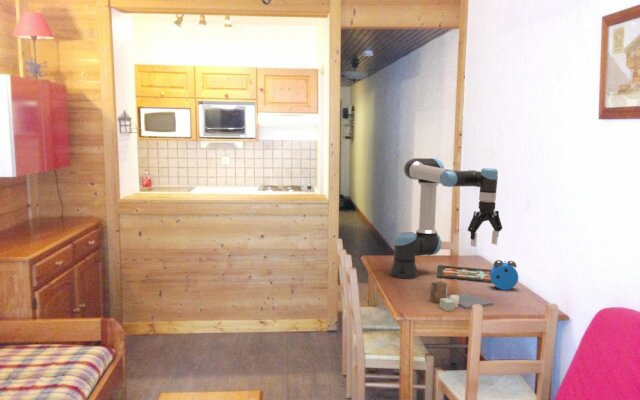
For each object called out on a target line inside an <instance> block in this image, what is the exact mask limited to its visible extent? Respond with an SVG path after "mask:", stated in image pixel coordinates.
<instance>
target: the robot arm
mask: <svg viewBox="0 0 640 400" xmlns="http://www.w3.org/2000/svg"><path fill="white" fill-rule="evenodd" d="M480 170H481V171H477V170H471V169H470V170H452V169H446V168H445V166H444V164H443V162H442V160H440V159H438V158H432V157H431V158H421V157H420V158H418V157H417V158H411V159H409V160H407V162H406V163H405V164H404V166H403V172H404V174H405V176H406V177H407V178H408V179H411V180H417V182H418V184H419V186H420V199H419V202H420V203H419V218H418V219H419V222H418V224H419V225H418V228H417V230H416V231H415V232H416V233H415V232H411V231H410V232H407V231H405V232H400V233H398V234H396V235H395V237H394V242H393V243H394V248H393V249H394V250H393V262H392V264H391V267H390V270H389V275H390V276H391V277H393V278H394V277H395V278H399V279H407V280H409V279H416V278H417V277H418V274H419V273H418V269H417V265H416V257H422V256H433V255H436V254H437V253H439V252H440V251H441V247H442V239H441V236H440V235H439V234H438V231H437V230H436V209H437V208H436V207H437V205H436V203H437V188H438V187H437V186H438V185H439V184H441V186H443V187H448V188H451V187H454V188H455V187H477V188H479V197H478V200H479V201H478V209H479V211H475V210H474V211H473V216H472V217H471V218H472V219H471V220H470V222H469V225H468V226H467V227H468V228H467V231H468V232H469V233H470V237H469V238H470V246H471V247H473V248H475V247H477V241H478V239H477V237H478V236H477V235H478V233H477V231H478V229H479V228H480V226H481V225H482V224H483V223H484V222H487V221H488V222H489V224H490V225H491V226H492V228H493V230H492V232H491V233H492V234H491V245H494V246H495V245H498V238H499V232H501V230H503V225H502V222H501V219H500V215H499V212H500V211H498V210H496V200H497V199H496V198H497V188H498V179H499V175H498V174H499V173H498V172H499V171H498V169H497V168H493V167H492V168H491V167H490V168H489V167H482V168H481V169H480Z"/></svg>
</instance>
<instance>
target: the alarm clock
mask: <svg viewBox="0 0 640 400" xmlns="http://www.w3.org/2000/svg"><path fill="white" fill-rule="evenodd" d="M515 268H517V263H516V262H515V261H514V260H508V261H502V260H501V259H497V260H494V262H493V267H492V268H491V269H490V270H491V271H490V279H491V281H492V282H493V283H492V284H493V285H494V288H497V289H500V290H503V291H508V290H511V289H513V288H514V287H515V286H516V285H517V284H518V281H519V273H518V271H517V269H515Z"/></svg>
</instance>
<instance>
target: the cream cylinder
mask: <svg viewBox="0 0 640 400" xmlns="http://www.w3.org/2000/svg"><path fill="white" fill-rule="evenodd" d="M458 295H459V294H450V295H449V296H450V300H452V301H454V302H455V307H454V309H458V308H459V307H460V306H459V296H458Z"/></svg>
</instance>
